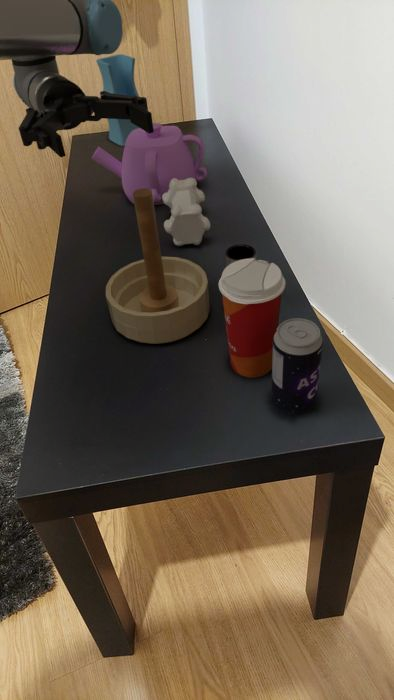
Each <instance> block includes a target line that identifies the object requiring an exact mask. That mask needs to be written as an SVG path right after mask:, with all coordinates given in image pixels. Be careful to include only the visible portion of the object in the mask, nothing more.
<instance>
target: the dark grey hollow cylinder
mask: <svg viewBox="0 0 394 700" xmlns="http://www.w3.org/2000/svg"><path fill="white" fill-rule="evenodd" d="M224 255H225V256H224V258H225V268H226V267H227V266H228V265H230V264H231V263H233V262H235V261H238V260H242V259H249V258H255V259H256V260H257V250H256V249H255V247H254V246H252V245H249V244H245V243H238V244H234V245H231V246H229V247H228V248H227V249H226V250H225V252H224Z"/></svg>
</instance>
